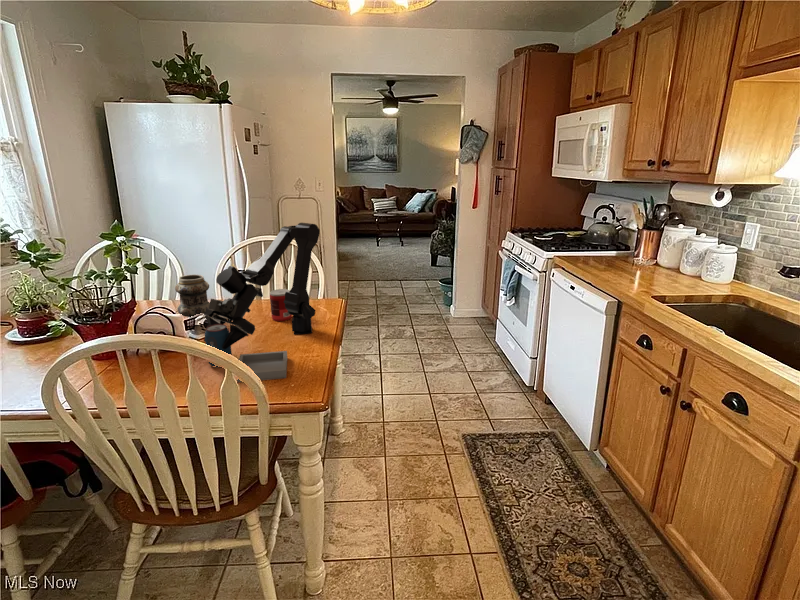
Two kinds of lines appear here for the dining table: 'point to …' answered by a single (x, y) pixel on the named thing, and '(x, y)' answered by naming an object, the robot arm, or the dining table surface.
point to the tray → (267, 364)
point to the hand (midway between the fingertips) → (214, 345)
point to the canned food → (279, 305)
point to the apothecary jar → (192, 295)
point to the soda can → (217, 337)
